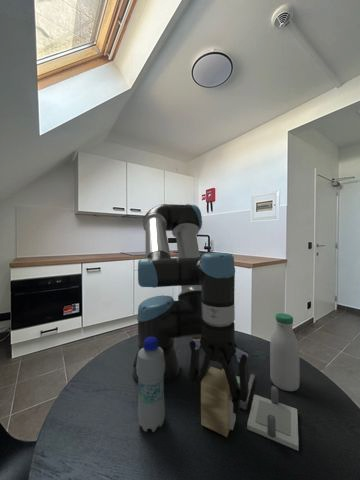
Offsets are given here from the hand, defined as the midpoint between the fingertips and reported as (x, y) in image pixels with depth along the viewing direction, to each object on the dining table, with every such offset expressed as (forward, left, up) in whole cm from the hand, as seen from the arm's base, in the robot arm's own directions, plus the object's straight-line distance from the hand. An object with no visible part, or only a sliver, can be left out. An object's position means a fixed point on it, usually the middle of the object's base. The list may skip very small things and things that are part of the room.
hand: (218, 417), depth 47 cm
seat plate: (+11, +7, -1) cm, 13 cm away
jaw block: (0, 0, 0) cm, 0 cm away
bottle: (-14, -7, -1) cm, 16 cm away
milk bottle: (+13, +22, -1) cm, 26 cm away
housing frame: (0, +13, -1) cm, 13 cm away
